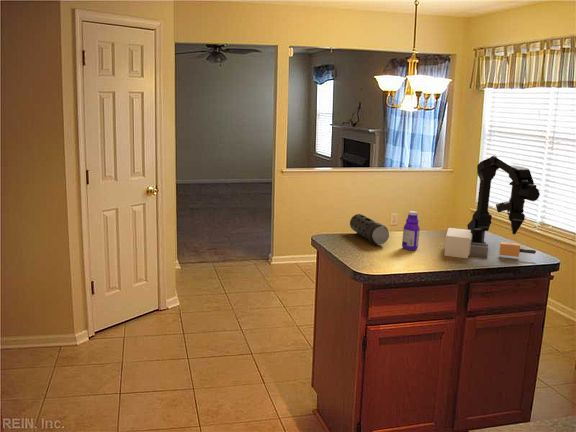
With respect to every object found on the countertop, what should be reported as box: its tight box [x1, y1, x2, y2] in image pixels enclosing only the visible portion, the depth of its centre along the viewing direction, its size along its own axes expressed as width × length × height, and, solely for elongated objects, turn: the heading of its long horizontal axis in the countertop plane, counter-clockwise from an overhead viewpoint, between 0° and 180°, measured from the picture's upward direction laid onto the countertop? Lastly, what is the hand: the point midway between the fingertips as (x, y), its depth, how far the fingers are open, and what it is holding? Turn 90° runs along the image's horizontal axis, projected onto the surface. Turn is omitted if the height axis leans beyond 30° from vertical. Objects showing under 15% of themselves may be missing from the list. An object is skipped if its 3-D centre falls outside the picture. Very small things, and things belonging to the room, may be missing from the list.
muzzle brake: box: [349, 213, 390, 245], centre depth 282 cm, size 10×28×10 cm, turn 15°
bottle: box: [401, 210, 420, 251], centre depth 267 cm, size 7×6×17 cm
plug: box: [498, 241, 537, 258], centre depth 258 cm, size 15×4×5 cm, turn 72°
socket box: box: [444, 227, 489, 259], centre depth 264 cm, size 18×18×9 cm
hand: (513, 231), depth 258 cm, fingers open, 9 cm apart
